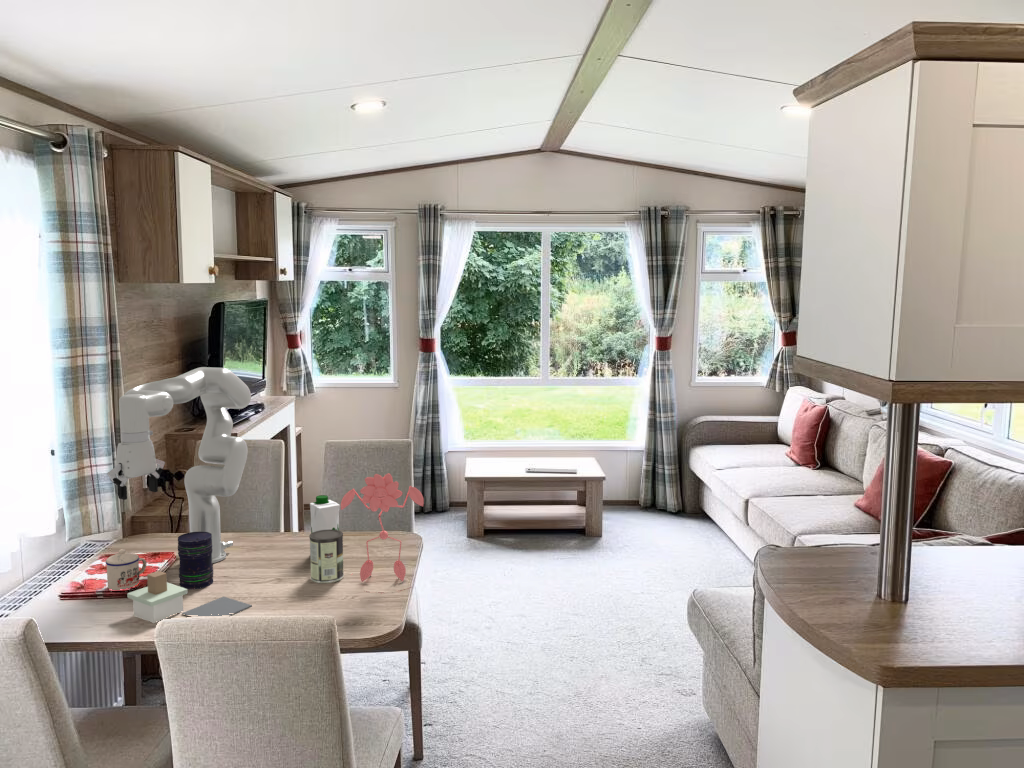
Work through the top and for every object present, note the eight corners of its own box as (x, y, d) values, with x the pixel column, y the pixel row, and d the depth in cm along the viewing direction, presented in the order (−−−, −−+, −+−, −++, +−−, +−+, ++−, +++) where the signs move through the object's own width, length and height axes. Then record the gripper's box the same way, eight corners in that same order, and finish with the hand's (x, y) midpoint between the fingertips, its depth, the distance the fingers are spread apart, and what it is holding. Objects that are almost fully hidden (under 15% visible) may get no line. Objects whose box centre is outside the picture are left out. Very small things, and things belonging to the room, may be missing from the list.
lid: (163, 585, 223) (162, 564, 222) (187, 593, 217) (186, 572, 216) (127, 597, 213) (126, 575, 213) (151, 606, 208) (150, 584, 207)
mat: (223, 597, 227) (223, 596, 227) (251, 606, 221) (251, 605, 221) (182, 614, 215) (181, 613, 215) (210, 624, 209) (210, 622, 209)
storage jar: (175, 582, 239) (173, 535, 237) (208, 575, 245) (206, 529, 243) (184, 592, 231) (182, 543, 229) (218, 585, 237) (216, 537, 235)
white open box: (162, 605, 222) (162, 587, 221) (183, 612, 217) (182, 593, 217) (133, 616, 214) (132, 597, 213) (154, 624, 210) (153, 604, 209)
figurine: (344, 574, 247) (342, 467, 242) (425, 575, 247) (425, 468, 242) (334, 594, 232) (332, 480, 226) (420, 595, 232) (420, 481, 227)
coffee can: (331, 569, 251) (330, 527, 250) (350, 577, 244) (349, 534, 243) (303, 577, 244) (302, 534, 242) (322, 586, 237) (321, 541, 235)
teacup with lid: (118, 595, 228) (116, 557, 227) (100, 588, 233) (98, 551, 231) (155, 582, 238) (153, 545, 237) (137, 576, 243) (135, 540, 242)
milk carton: (331, 548, 271) (330, 493, 268) (343, 556, 264) (342, 498, 261) (308, 554, 265) (306, 497, 263) (319, 561, 258) (318, 503, 256)
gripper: (154, 431, 232) (156, 486, 234) (98, 440, 217) (102, 500, 220) (170, 433, 228) (172, 490, 231) (115, 443, 214) (118, 504, 216)
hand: (138, 495), depth 225 cm, fingers open, 9 cm apart
